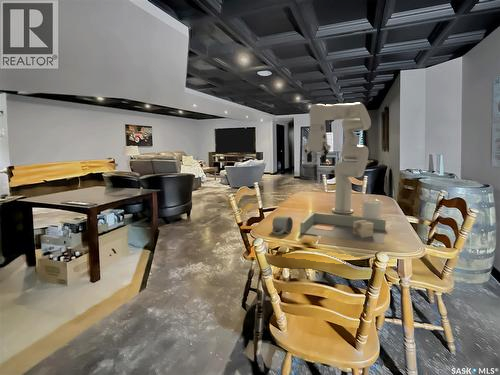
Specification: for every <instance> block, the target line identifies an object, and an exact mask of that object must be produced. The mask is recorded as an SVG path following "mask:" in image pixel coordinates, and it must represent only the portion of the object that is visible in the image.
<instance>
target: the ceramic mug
mask: <svg viewBox="0 0 500 375" xmlns="http://www.w3.org/2000/svg"><path fill="white" fill-rule="evenodd" d="M293 222H294V221H293V218H292V217H291V216H281V215H280V216H278V215H277V216H275V217H274V218H273V219H272V230H271V231H272V233H273V235H275V236H279V235H282V234H284V233H288V234H289V233H291V232H292V230H293V225H294V223H293Z"/></svg>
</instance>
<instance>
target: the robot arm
mask: <svg viewBox="0 0 500 375" xmlns="http://www.w3.org/2000/svg"><path fill="white" fill-rule="evenodd" d="M308 116H309V132H308V136H307V144H305V145H304V146H303V148H304V152H305V154H306V162H307V163H312V162H313V154H312V153H313V152H320V154H321V155H320V163H321V164H326V163H327V156H328V153H330V150H331V145H329V144H328V137H327V136H328V135H327V131H325V130H326V129H327V127H326V121H337V120H342V122H341V127H342V130H343V134H344V142H343V145H342V149H341V152H340V157H341V160H340V161H337V162H335V164H334V167H333V168H334V170H333V171H334V178H335V185H334V186H335V187H334V189H335V190H334V191H335V192H334V207H332V209H331V211H332V212H334V213H337V214H343V215H344V214H345V215H346V214H352V213H354V209H352V188H353V187H352V181H351V179H350V178H361V177H363V176H364V174H365V171H366V166H367V163H368V159H369V152H370V151H369V148H368V147H367V145H364V144H359V142H360V137H359V136H358V135H357V133H356V132H357V131H367V130H368V129H370V128H371V126H372V120H371V118H370V115H369V112H368V110H367V108H366V106H365V105H364V104H363V102H353V103H336V104H326V105H325V104H322V103H316V104H312V105H310V108H309V115H308Z"/></svg>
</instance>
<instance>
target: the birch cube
mask: <svg viewBox="0 0 500 375" xmlns="http://www.w3.org/2000/svg"><path fill="white" fill-rule="evenodd" d="M353 234H355V235H357V236H360V237H369V236H373V223H371V222H369V221H366V220H359V221H354V224H353Z"/></svg>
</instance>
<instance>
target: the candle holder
mask: <svg viewBox="0 0 500 375" xmlns="http://www.w3.org/2000/svg"><path fill="white" fill-rule="evenodd" d="M383 204H384V203H383V201H382V200H378V199H363V200H362V207H361V208H362V209H361V210H362V217H366V218H376V219H382V218H381V216H382V211H383V210H382V209H383V208H382V207H383Z"/></svg>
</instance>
